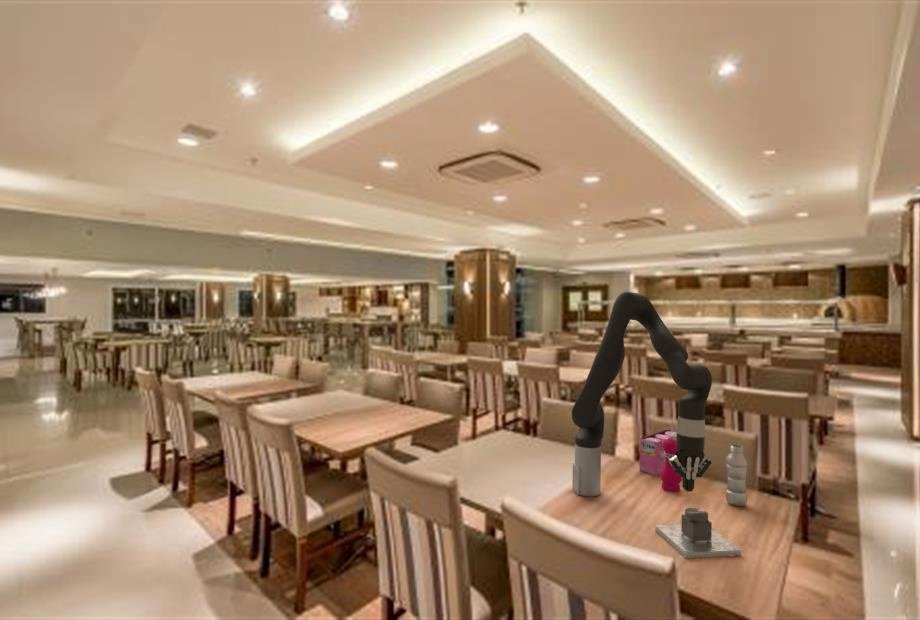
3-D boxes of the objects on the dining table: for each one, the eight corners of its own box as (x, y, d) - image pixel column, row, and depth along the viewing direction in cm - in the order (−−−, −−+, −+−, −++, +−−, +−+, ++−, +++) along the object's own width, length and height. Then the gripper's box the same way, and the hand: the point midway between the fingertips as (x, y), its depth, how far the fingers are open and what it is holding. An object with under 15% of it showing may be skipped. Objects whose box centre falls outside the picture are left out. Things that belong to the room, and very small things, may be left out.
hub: (685, 558, 129) (686, 536, 129) (655, 530, 145) (655, 510, 145) (741, 555, 130) (741, 533, 130) (705, 528, 146) (705, 508, 146)
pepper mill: (683, 493, 173) (684, 438, 173) (662, 491, 175) (663, 437, 174) (678, 486, 180) (679, 433, 180) (658, 484, 182) (659, 432, 181)
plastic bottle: (739, 509, 160) (740, 450, 159) (720, 502, 166) (721, 444, 165) (751, 506, 163) (752, 447, 162) (732, 499, 169) (733, 442, 168)
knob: (692, 541, 134) (692, 515, 134) (680, 531, 140) (680, 506, 140) (712, 540, 135) (712, 514, 135) (699, 530, 141) (700, 505, 141)
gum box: (668, 459, 212) (668, 428, 212) (686, 464, 206) (686, 432, 205) (638, 470, 197) (639, 437, 197) (656, 476, 191) (657, 442, 191)
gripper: (676, 436, 137) (673, 496, 138) (719, 436, 138) (717, 495, 139) (662, 429, 145) (660, 485, 145) (704, 429, 146) (701, 485, 146)
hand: (688, 490), depth 142 cm, fingers closed
